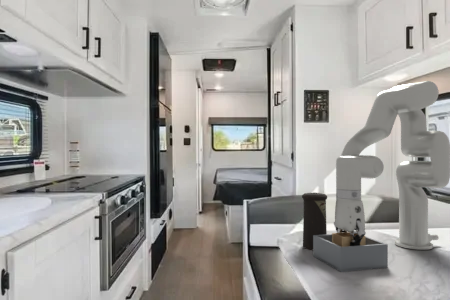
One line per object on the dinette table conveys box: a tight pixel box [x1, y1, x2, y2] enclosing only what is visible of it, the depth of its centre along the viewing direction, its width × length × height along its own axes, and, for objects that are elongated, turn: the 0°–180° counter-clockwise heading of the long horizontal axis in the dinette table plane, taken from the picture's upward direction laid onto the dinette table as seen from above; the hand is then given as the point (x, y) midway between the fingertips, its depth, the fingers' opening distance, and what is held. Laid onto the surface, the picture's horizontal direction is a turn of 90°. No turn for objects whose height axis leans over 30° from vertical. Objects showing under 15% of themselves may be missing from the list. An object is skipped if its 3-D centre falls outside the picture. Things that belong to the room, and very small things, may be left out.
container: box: [301, 192, 328, 251], centre depth 128 cm, size 9×9×20 cm
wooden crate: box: [331, 232, 367, 247], centre depth 111 cm, size 8×6×6 cm
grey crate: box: [312, 233, 389, 273], centre depth 111 cm, size 16×16×7 cm
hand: (348, 251), depth 111 cm, fingers closed on wooden crate, 5 cm apart
